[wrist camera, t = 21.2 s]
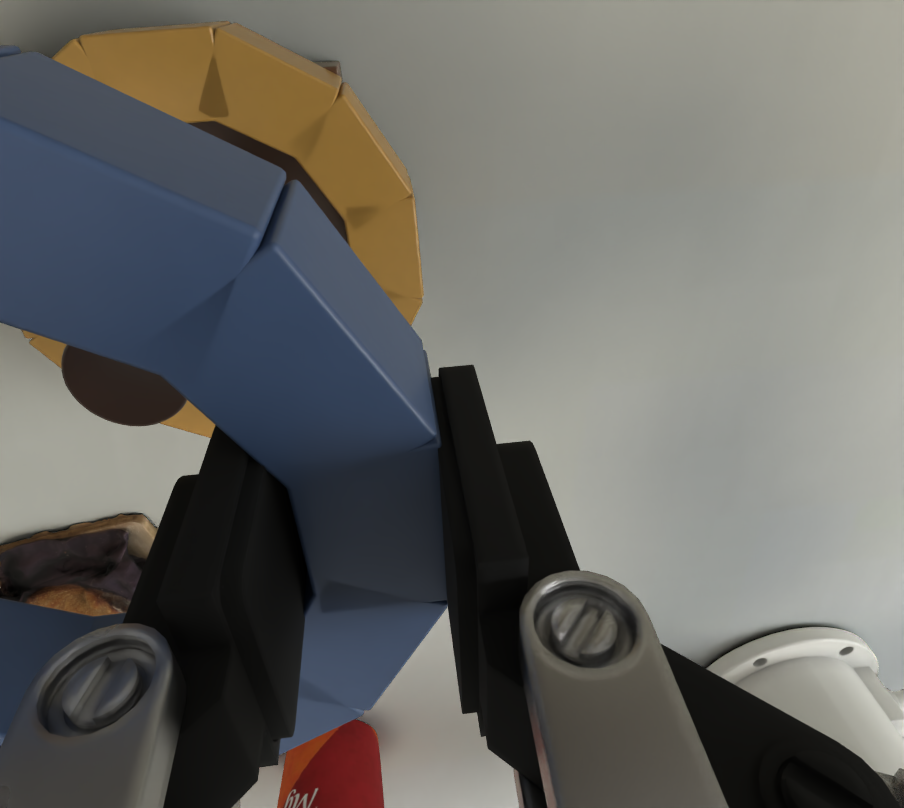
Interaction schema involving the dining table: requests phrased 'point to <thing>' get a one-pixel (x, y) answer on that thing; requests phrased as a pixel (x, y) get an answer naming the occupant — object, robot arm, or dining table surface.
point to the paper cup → (334, 770)
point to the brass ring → (269, 137)
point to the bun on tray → (79, 566)
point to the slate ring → (229, 359)
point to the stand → (144, 393)
